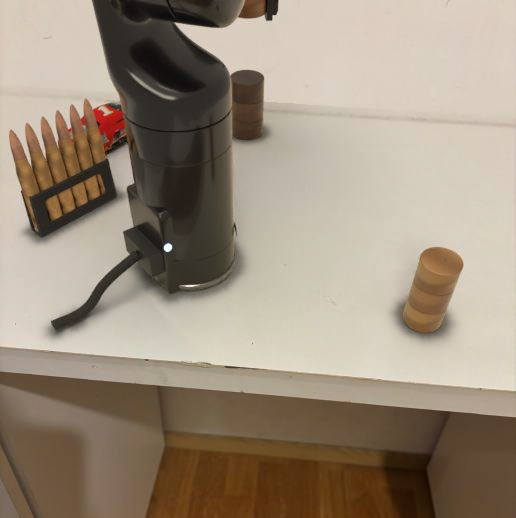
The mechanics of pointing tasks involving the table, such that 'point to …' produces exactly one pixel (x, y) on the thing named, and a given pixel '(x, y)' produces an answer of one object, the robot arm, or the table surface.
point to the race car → (108, 125)
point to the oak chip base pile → (432, 289)
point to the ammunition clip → (63, 171)
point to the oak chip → (253, 9)
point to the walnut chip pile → (247, 104)
